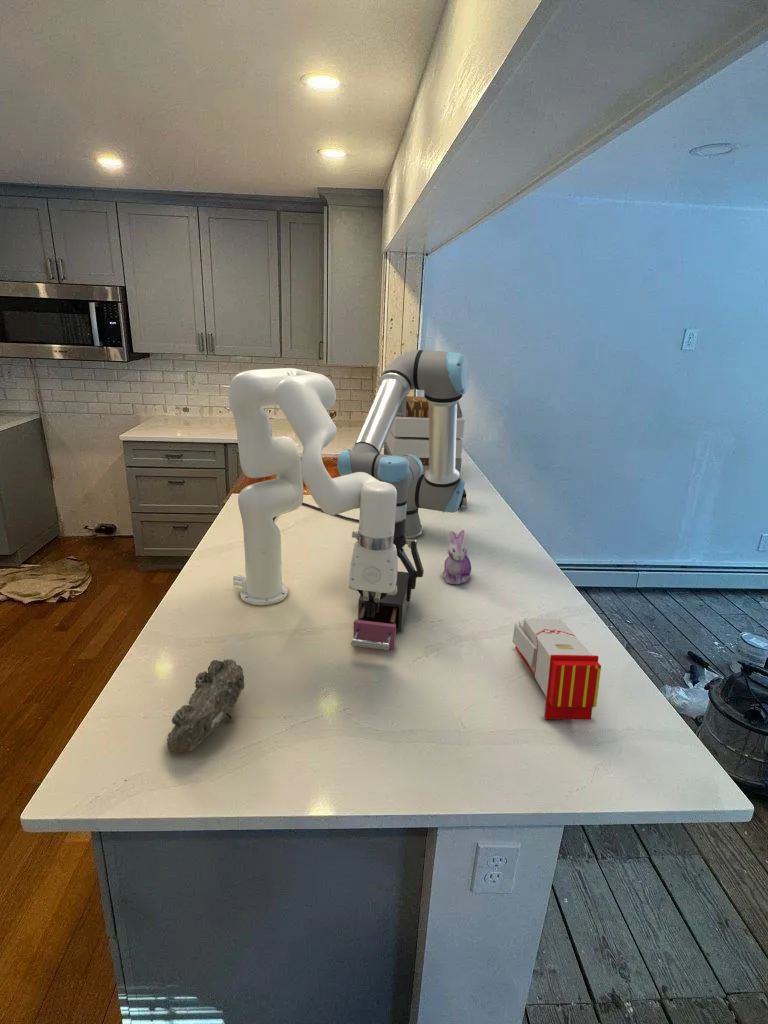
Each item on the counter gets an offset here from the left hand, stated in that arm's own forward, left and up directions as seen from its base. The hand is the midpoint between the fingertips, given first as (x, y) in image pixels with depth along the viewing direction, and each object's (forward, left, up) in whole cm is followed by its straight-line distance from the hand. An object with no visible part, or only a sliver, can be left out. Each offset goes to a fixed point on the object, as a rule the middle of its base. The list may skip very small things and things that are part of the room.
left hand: (371, 614), depth 127 cm
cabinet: (-1, +18, -10) cm, 21 cm away
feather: (-55, +77, -10) cm, 95 cm away
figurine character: (+8, +110, -10) cm, 111 cm away
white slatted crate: (-14, +154, -10) cm, 155 cm away
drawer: (0, +7, -9) cm, 11 cm away
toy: (+40, +1, -10) cm, 41 cm away
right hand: (-1, +21, -7) cm, 22 cm away
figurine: (+15, +44, -10) cm, 48 cm away
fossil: (-24, -30, -10) cm, 39 cm away
